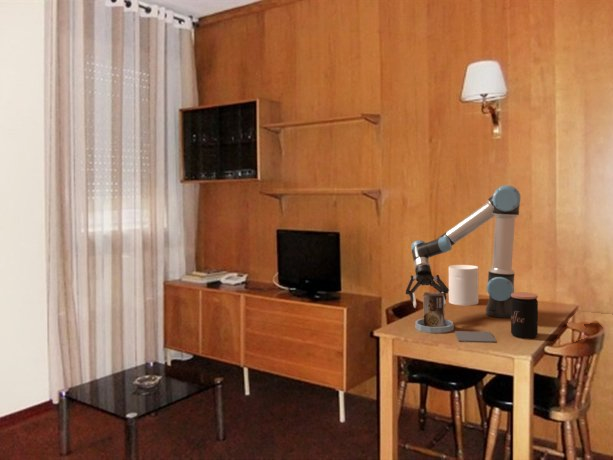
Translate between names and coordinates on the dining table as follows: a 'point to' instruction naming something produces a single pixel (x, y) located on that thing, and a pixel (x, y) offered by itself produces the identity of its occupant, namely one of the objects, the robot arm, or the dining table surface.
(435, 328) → the faceted grey ring
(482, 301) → the dining table surface
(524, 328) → the coffee jar
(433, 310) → the coffee box
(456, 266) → the canister
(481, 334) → the rubber mat
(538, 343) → the dining table surface
